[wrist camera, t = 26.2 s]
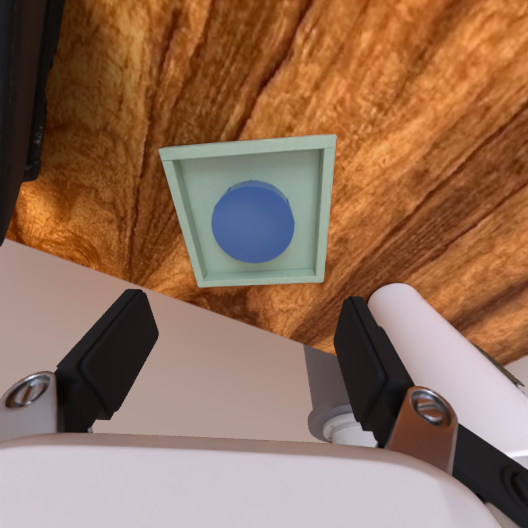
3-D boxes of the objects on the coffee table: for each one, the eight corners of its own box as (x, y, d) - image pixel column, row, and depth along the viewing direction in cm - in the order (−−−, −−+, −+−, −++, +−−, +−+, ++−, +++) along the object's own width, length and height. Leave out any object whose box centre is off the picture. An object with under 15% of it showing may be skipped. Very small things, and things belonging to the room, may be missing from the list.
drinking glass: (347, 300, 26) (423, 475, 13) (401, 263, 23) (567, 440, 10) (380, 328, 28) (473, 499, 15) (433, 298, 25) (601, 477, 12)
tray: (319, 271, 24) (323, 282, 22) (202, 276, 24) (197, 287, 23) (330, 133, 17) (336, 134, 15) (167, 146, 18) (157, 148, 16)
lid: (219, 172, 18) (214, 177, 16) (301, 189, 19) (304, 195, 17) (213, 246, 22) (208, 256, 20) (282, 258, 22) (283, 269, 21)
